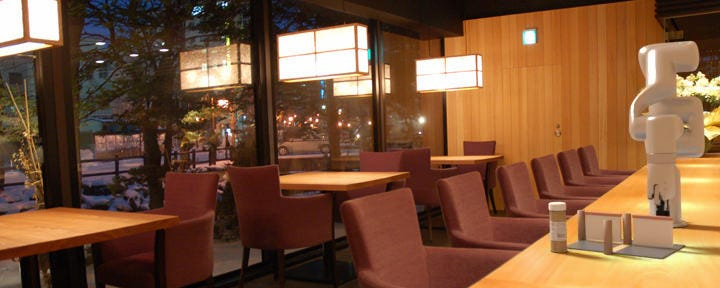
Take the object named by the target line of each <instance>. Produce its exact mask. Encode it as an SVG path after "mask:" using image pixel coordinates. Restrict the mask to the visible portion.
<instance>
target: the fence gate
mask: <svg viewBox="0 0 720 288" xmlns="http://www.w3.org/2000/svg"><path fill="white" fill-rule="evenodd" d="M631 219H632V231H633V233H632V234H633V235H632V240H634V244H645V245H655V246H665V247H673V244H674V227H673V217H666V216H652V215H648V214H647V215H646V214H631Z"/></svg>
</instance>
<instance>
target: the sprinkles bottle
mask: <svg viewBox="0 0 720 288" xmlns="http://www.w3.org/2000/svg"><path fill="white" fill-rule="evenodd" d="M548 210H549V238H550V249H549V250H550V252H553V253H557V254H558V253H559V254H563V253H566V252H567V253H568V249H567V245H568V242H567V241H568V240H567V239H568V236H567V235H568V234H567V233H568V232H567V215H566V212H567V204H566V202H563V201H562V202H561V201H554V202H553V201H552V202H549V203H548Z"/></svg>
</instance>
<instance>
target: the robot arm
mask: <svg viewBox="0 0 720 288" xmlns="http://www.w3.org/2000/svg"><path fill="white" fill-rule="evenodd" d="M699 52H700V51H699V48H698V45H697V43H696V42H695V41H692V40H689V41H674V42H660V43H653V44H652V43H651V44H648V45H644V46H642V47H641V48H639V51H638V62H639V67H640V69H641V72H642V74H643V76H644V78H645V88H644V89H643V90H641V91H640V92H639V93H638V94H637V95H636V96H635V98H634V99H633V100H632V102H631V104H630V107H629V113H628V114H629V115H628V116H629V119H628V120H629V121H628V132H629V135H630V137H631V139H633V140H635V141H636V142H644V147H645V154H646V165H647V175H646V176H647V181H646V198H647V200H648V206H649V207H648V209H649V210H648V211H649V213H648V214H649V215H652V216H666V217H673V228H683V227H686V226H688V222H687V221H686V220H683V219H682V185H681V183H682V182H681V171H680V169H679V167H678V166H677V163H678V162H677V161H678V159H697V158H700V157H702V156H703V155H704V153H705V148H706V145H705V144H706V141H705V139H706V138H705V122H704V121H705V117H704V116H705V115H704V107H703V103H702V101H701V99H700V98H699V97H698V96H691V95H687V96H684V95H683V96H678V93H677V91H678V90H677V88H678V83H677V73H684V72H685V73H687V72H689V73H690V72H694V71H696V70H697V69H698V66H699V63H700V53H699ZM647 108H648V115H647V114H644V115H642V114H641V113H642V112H643V111H644V110H645V109H647ZM685 126H686V127H687V128H685Z"/></svg>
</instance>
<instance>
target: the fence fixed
mask: <svg viewBox="0 0 720 288" xmlns="http://www.w3.org/2000/svg"><path fill="white" fill-rule="evenodd" d="M576 211H577V212H576V213H577V214H576V215H577V217H576V218H577V242H578V241H581V240H586V239H594V240H604V253H603V255H607V256H608V255H609V256H612V255H614V254H613V241H614V242H622V239H623V244H625V245H631V244H632V240H633V235H632V234H633V233H632V231H633V227H632V213H630V212H604V211H589V210H586V209H585V210H584V209H579V210H576Z"/></svg>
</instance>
